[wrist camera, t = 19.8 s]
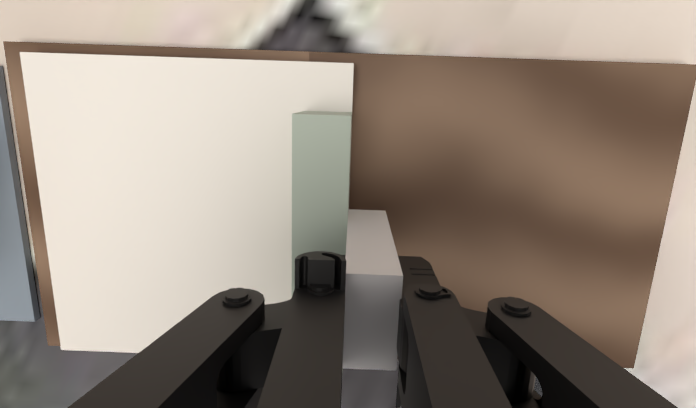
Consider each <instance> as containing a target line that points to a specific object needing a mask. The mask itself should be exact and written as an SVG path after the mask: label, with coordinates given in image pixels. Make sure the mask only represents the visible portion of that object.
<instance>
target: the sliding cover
mask: <svg viewBox="0 0 696 408" xmlns="http://www.w3.org/2000/svg"><path fill="white" fill-rule="evenodd" d="M20 59H21V66H22V73H23V80H24V88H25V95H26V102H27V109H28V116H29V123H30V131H31V138H32V145H33V152H34V159H35V166H36V174H37V181H38V188H39V195H40V202H41V209H42V217H43V224H44V231H45V238H46V245H47V252H48V259H49V267H50V274H51V281H52V288H53V295H54V302H55V310H56V317H57V324H58V331H59V338H60V345H61V350H78V351H104V352H129V353H139V352H141V351H142V350H143V349H145V348H146V347H147V346H149V345H150V344H151V343H152V342H154V341H155V340H156V339H158V338H159V337H160V336H161V335H163V334H164V333H165V332H167V331H168V330H169V329H171V328H172V327H173V326H174V325H176V324H177V323H178V322H180V321H181V320H182V319H184V318H185V317H186V316H187V315H189V314H190V313H191V312H193V311H194V310H195V309H197V308H198V307H199V306H200V305H202V304H203V303H204V302H206V301H207V300H208V299H210V298H211V297H212V296H214V295H216V294H217V293H219V292H222V291H226V290H228V289H230V288H235V289H236V288H244V289H252V290H256V291H258V292H260V293H261V294H263V296H264V299H265V304H274V303H280V302H284V301H287V300H290V299H291V298H292V295H293V292H294V289H295V258H296V257H297V256H298V255H300V254H303V253H307V252H312V251H326V252H333V253H337V254H340V255H346V240H347V224H348V209H349V189H350V160H351V132H352V103H353V74H354V63H333V62H304V61H274V60H244V59H215V58H185V57H155V56H126V55H96V54H66V53H36V52H20ZM342 372H343V369H342Z"/></svg>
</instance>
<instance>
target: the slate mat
mask: <svg viewBox="0 0 696 408" xmlns="http://www.w3.org/2000/svg"><path fill="white" fill-rule="evenodd" d="M39 318H40V314H39V307H38V301H37V294H36V287H35V281H34V274H33V267H32V260H31V254H30V247H29V240H28V234H27V227H26V220H25V214H24V207H23V200H22V194H21V187H20V180H19V174H18V167H17V160H16V154H15V147H14V140H13V134H12V127H11V120H10V113H9V107H8V100H7V93H6V87H5V80H4V73H3V67H2V66H0V320H7V321H33V322H35V321H36V320H38V319H39Z"/></svg>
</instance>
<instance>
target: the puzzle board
mask: <svg viewBox="0 0 696 408" xmlns="http://www.w3.org/2000/svg"><path fill="white" fill-rule="evenodd" d="M3 42H4V41H3ZM4 49H5V56H6V63H7V69H8V76H9V83H10V90H11V97H12V103H13V110H14V117H15V124H16V131H17V137H18V144H19V151H20V158H21V165H22V171H23V178H24V185H25V192H26V199H27V205H28V212H29V219H30V226H31V232H32V239H33V246H34V253H35V260H36V266H37V273H38V280H39V287H40V294H41V300H42V307H43V314H44V321H45V328H46V334H47V341H48V345H51V346H61V345H60V338H59V331H58V324H57V317H56V310H55V302H54V295H53V288H52V281H51V274H50V267H49V259H48V252H47V245H46V238H45V231H44V224H43V217H42V209H41V202H40V195H39V188H38V181H37V174H36V166H35V159H34V152H33V145H32V138H31V131H30V123H29V116H28V109H27V102H26V95H25V88H24V80H23V73H22V66H21V59H20V52H36V53H66V54H96V55H126V56H155V57H185V58H215V59H244V60H274V61H304V62H333V63H354V74H353V103H352V132H351V160H350V189H349V209H356V210H382V211H386V214H387V218H388V222H389V225H390V229H391V233H392V236H393V240H394V244H395V247H396V251H397V255H398V256H416V257H422V258H424V259H425V260H427V261H428V262H430V264H431V266H432V268H433V271H434V273H435V276H436V277H437V279H438V282H439V284H440V286H443V287H445V288H447V289H449V290H451V291H452V292H453V293H454V294H455V296H456V298H457V300H458V302H459V304H460V306H461V307H464V308H467V309H471V310H476V311H481V312H486V313H487V307H488V302H489V301H490V300H492V299H494V298H499V297H515V298H516V297H517V298H521V299H523V300H525V301H528V302H530V303H533V304H534V305H536V306H538V307H540V308H541V309H543V310H544V311H545V312H547V313H548V314H549V315H551V316H552V317H554V318H555V319H556V320H558V321H559V322H560V323H562V324H563V325H565V326H566V327H567V328H569V329H570V330H571V331H573V332H574V333H576V334H577V335H578V336H580V337H581V338H582V339H584V340H585V341H587V342H588V343H589V344H591V345H592V346H594V347H595V348H596V349H598V350H599V351H600V352H602V353H603V354H605V355H606V356H607V357H609V358H610V359H611V360H613V361H614V362H616V363H617V364H618V365H620V366H621V367H622V368H634V363H635V359H636V354H637V350H638V345H639V340H640V336H641V331H642V326H643V322H644V317H645V313H646V308H647V303H648V299H649V294H650V289H651V285H652V280H653V275H654V271H655V266H656V262H657V257H658V252H659V248H660V243H661V238H662V234H663V229H664V225H665V220H666V215H667V211H668V206H669V201H670V197H671V192H672V188H673V183H674V178H675V174H676V169H677V164H678V160H679V155H680V151H681V146H682V141H683V137H684V132H685V127H686V123H687V118H688V113H689V109H690V104H691V100H692V95H693V90H694V86H695V81H696V65H690V64H661V63H631V62H601V61H571V60H541V59H511V58H481V57H452V56H422V55H392V54H362V53H332V52H302V51H272V50H243V49H213V48H183V47H153V46H123V45H93V44H63V43H34V42H4ZM397 359H398V357H397Z"/></svg>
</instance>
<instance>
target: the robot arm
mask: <svg viewBox="0 0 696 408" xmlns="http://www.w3.org/2000/svg"><path fill="white" fill-rule="evenodd" d="M397 357H398V360H399V371H398V385H397V399H396V408H400V406H401V408H677V407H676V406H675V405H673V404H672V403H671V402H669V401H668V400H666V399H665V398H664V397H662V396H661V395H660V394H658V393H657V392H655V391H654V390H653V389H651V388H650V387H649V386H647V385H646V384H644V383H643V382H642V381H640V380H639V379H638V378H636V377H635V376H633V375H632V374H631V373H629V372H628V371H627V370H625V369H624V368H622V367H621V366H620V365H618V364H617V363H616V362H614V361H613V360H611V359H610V358H609V357H607V356H606V355H605V354H603V353H602V352H600V351H599V350H598V349H596V348H595V347H594V346H592V345H591V344H589V343H588V342H587V341H585V340H584V339H582V338H581V337H580V336H578V335H577V334H576V333H574V332H573V331H571V330H570V329H569V328H567V327H566V326H565V325H563V324H562V323H560V322H559V321H558V320H556V319H555V318H554V317H552V316H551V315H549V314H548V313H547V312H545V311H544V310H543V309H541V308H540V307H538V306H536V305H534V304H533V303H530V302H528V301H525V300H523V299H521V298H517V297H516V298H515V297H499V298H494V299H492V300H490V301H489V302H488V307H487V313H486V312H481V311H476V310H471V309H467V308H464V307H461V306H460V304H459V302H458V300H457V298H456V296H455V294H454V293H453V292H452V291H451V290H449V289H447V288H445V287H443V286H440V284H439V282H438V279H437V277H436V276H435V273H434V271H433V268H432V266H431V264H430V262H428V261H427V260H425V259H424V258H422V257H416V256H398V255H397V251H396V247H395V244H394V240H393V236H392V233H391V229H390V225H389V222H388V218H387V214H386V211H382V210H356V209H348V224H347V240H346V255H340V254H337V253H333V252H326V251H312V252H307V253H303V254H300V255H298V256H297V257H296V258H295V289H294V292H293V295H292V298H291V299H290V300H287V301H284V302H280V303H274V304H265V299H264V296H263V294H261V293H260V292H258V291H256V290H252V289H244V288H236V289H235V288H230V289H228V290H226V291H222V292H219V293H217V294H216V295H214V296H212V297H211V298H210V299H208V300H207V301H206V302H204V303H203V304H202V305H200V306H199V307H198V308H197V309H195V310H194V311H193V312H191V313H190V314H189V315H187V316H186V317H185V318H184V319H182V320H181V321H180V322H178V323H177V324H176V325H174V326H173V327H172V328H171V329H169V330H168V331H167V332H165V333H164V334H163V335H161V336H160V337H159V338H158V339H156V340H155V341H154V342H152V343H151V344H150V345H149V346H147V347H146V348H145V349H143V350H142V351H141V352H139V353H138V354H137V355H136V356H134V357H133V358H132V359H130V360H129V361H128V362H126V363H125V364H124V365H123V366H121V367H120V368H119V369H117V370H116V371H115V372H113V373H112V374H111V375H110V376H108V377H107V378H106V379H104V380H103V381H102V382H100V383H99V384H98V385H97V386H95V387H94V388H93V389H91V390H90V391H89V392H87V393H86V394H85V395H84V396H82V397H81V398H80V399H78V400H77V401H76V402H74V403H73V404H72V405H71V406H69V407H68V408H341V392H342V369H367V370H391V371H397ZM536 377H537V378H538V380H539V382H540V385H541V388H542V392H543V395H542V397H541V396H540V395H539V394H538V393H537V392H536V391H535V390H534V385H535V379H536Z"/></svg>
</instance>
